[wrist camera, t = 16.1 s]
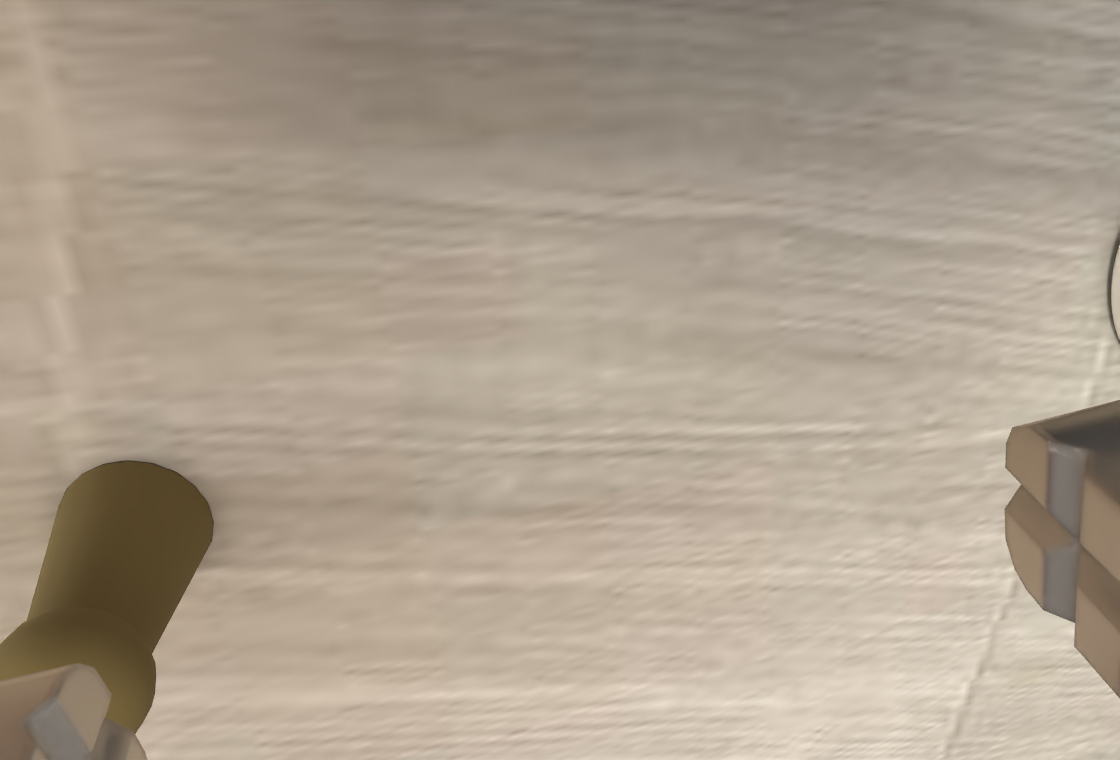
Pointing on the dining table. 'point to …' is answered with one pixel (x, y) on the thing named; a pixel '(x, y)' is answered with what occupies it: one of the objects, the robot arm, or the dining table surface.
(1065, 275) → the dining table surface
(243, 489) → the dining table surface
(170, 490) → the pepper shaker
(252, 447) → the dining table surface
